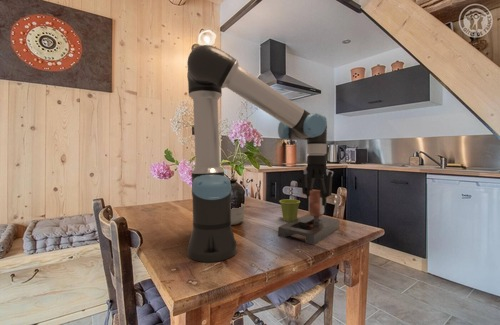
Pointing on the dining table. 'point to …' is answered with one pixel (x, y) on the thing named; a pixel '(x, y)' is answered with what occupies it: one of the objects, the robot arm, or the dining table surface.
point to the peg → (315, 206)
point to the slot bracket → (312, 236)
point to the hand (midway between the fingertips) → (316, 212)
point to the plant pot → (289, 209)
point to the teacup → (237, 215)
